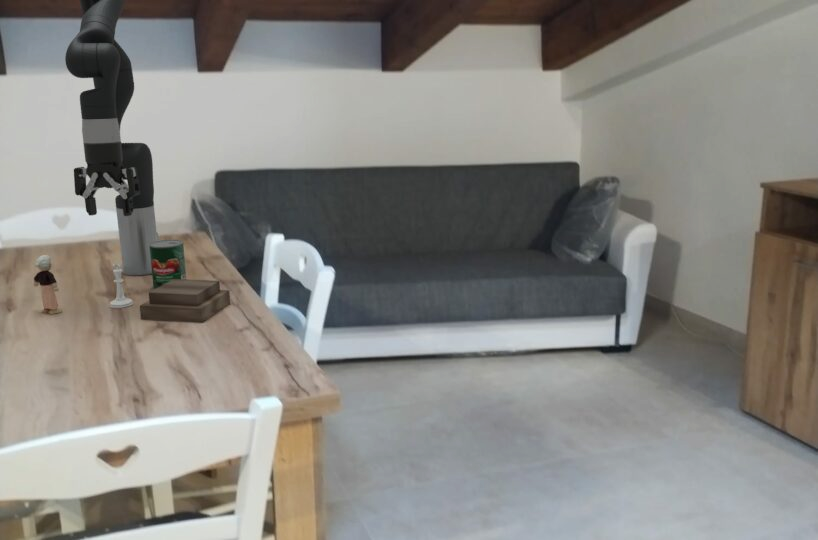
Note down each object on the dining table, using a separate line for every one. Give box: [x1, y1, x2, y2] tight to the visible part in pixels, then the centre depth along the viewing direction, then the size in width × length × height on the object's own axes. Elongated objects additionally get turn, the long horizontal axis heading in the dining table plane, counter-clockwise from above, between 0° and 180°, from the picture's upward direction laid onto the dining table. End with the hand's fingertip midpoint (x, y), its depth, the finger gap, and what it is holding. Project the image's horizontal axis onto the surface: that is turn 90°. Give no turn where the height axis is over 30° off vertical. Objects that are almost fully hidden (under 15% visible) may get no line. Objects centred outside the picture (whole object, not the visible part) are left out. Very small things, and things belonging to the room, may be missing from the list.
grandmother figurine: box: [33, 254, 63, 315], centre depth 173 cm, size 8×4×13 cm, turn 71°
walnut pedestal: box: [139, 278, 231, 323], centre depth 173 cm, size 14×14×6 cm
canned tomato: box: [149, 239, 187, 290], centre depth 191 cm, size 8×8×11 cm
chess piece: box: [109, 261, 134, 309], centre depth 178 cm, size 5×5×10 cm
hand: (110, 215), depth 174 cm, fingers open, 8 cm apart
